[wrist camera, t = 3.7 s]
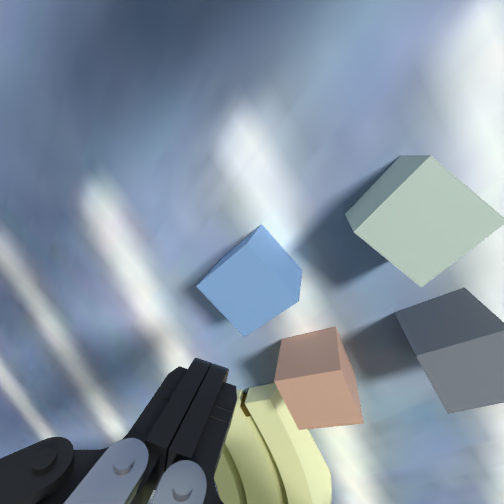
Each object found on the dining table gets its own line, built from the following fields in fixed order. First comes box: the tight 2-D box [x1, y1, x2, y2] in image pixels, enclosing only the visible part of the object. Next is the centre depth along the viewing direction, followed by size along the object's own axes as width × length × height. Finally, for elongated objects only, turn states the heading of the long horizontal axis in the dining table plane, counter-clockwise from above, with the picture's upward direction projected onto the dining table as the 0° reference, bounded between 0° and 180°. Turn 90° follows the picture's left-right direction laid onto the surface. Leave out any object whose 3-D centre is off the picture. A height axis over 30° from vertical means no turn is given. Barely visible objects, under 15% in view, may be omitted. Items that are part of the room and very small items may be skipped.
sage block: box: [345, 156, 504, 287], centre depth 16 cm, size 5×5×5 cm
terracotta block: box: [274, 327, 363, 430], centre depth 22 cm, size 5×5×5 cm
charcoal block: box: [394, 288, 504, 414], centre depth 18 cm, size 5×5×5 cm
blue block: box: [196, 225, 302, 337], centre depth 20 cm, size 5×5×5 cm
